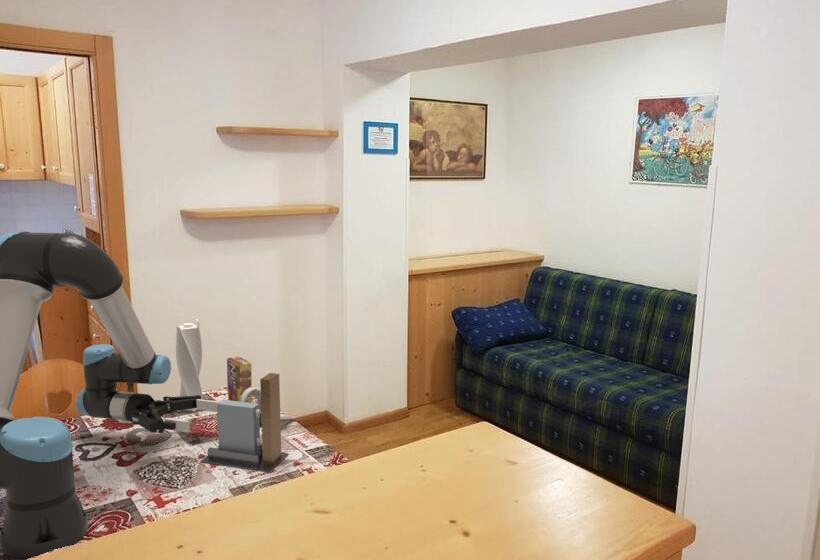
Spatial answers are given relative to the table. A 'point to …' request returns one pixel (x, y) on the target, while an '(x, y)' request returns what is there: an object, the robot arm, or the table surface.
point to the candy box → (238, 378)
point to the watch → (256, 394)
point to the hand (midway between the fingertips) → (204, 416)
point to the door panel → (239, 426)
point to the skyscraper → (189, 359)
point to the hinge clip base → (270, 435)
